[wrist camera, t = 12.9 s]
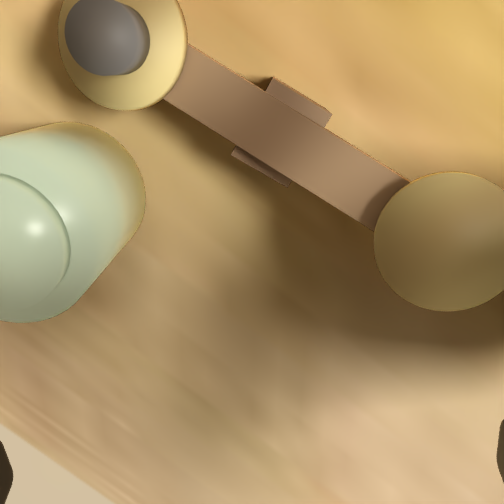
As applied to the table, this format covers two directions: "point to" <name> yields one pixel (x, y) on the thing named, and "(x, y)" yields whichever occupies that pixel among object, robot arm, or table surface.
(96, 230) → the sage cup
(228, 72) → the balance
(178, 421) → the table surface
